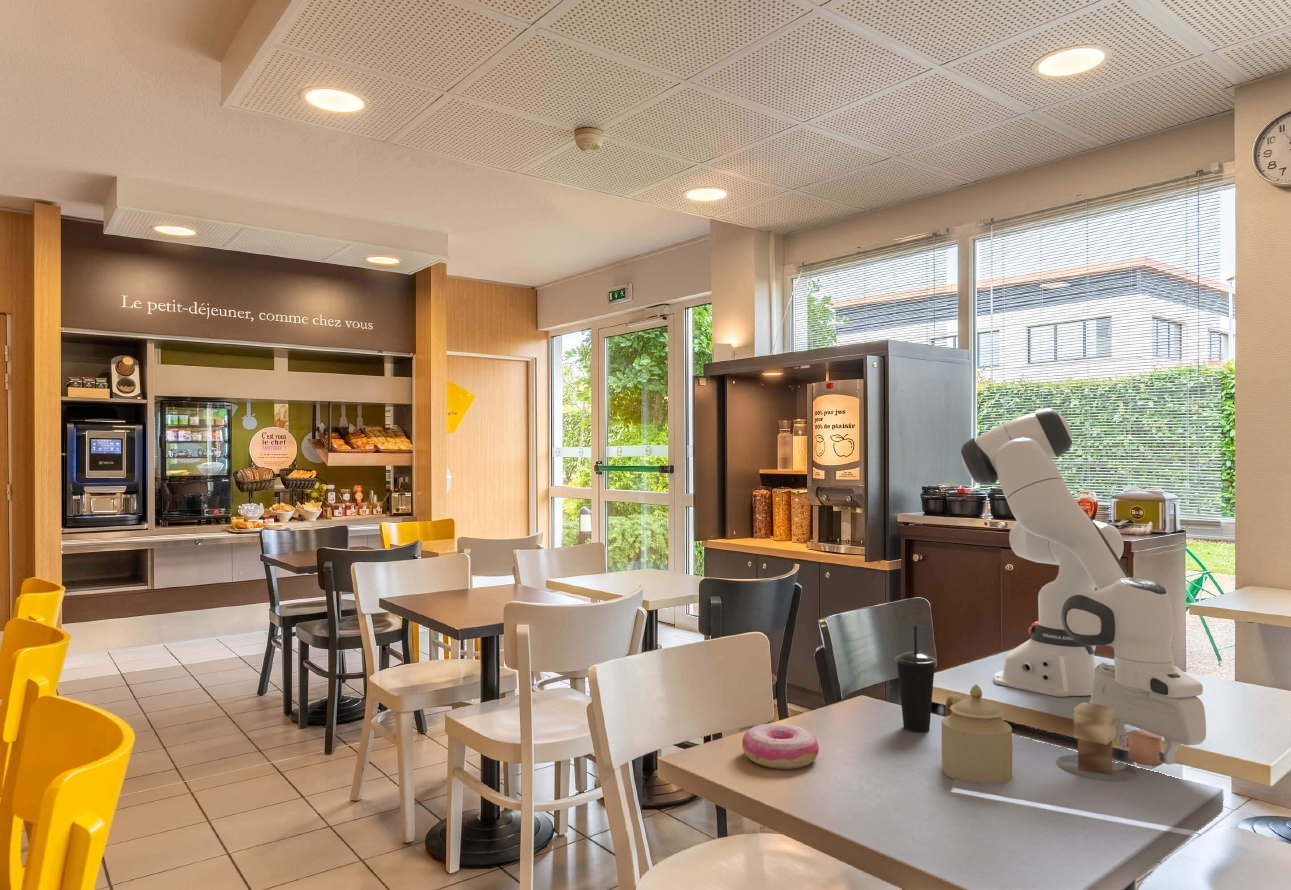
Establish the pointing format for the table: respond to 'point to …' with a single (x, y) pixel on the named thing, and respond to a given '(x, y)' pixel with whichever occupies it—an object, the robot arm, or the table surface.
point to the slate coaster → (1118, 772)
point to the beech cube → (1094, 723)
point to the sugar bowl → (976, 740)
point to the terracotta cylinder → (1144, 747)
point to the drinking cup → (916, 687)
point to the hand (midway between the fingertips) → (1145, 754)
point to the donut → (780, 746)
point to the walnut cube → (1095, 757)
